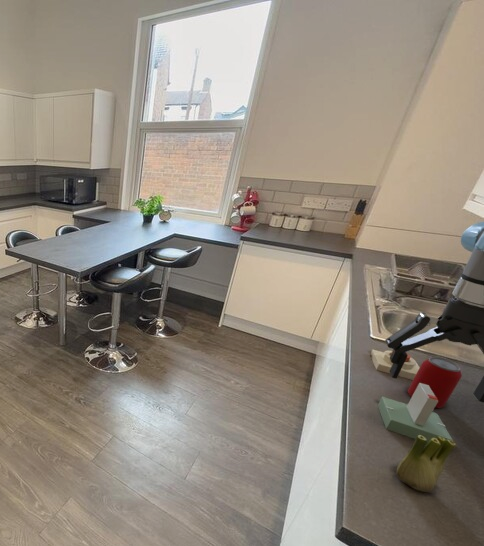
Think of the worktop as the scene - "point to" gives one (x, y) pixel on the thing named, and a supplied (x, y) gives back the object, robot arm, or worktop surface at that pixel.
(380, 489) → the worktop surface
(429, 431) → the plate
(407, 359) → the button
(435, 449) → the fennel bulb
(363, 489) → the worktop surface
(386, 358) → the button box
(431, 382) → the beverage can
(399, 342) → the robot arm
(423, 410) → the handle
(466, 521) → the worktop surface
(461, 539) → the worktop surface
